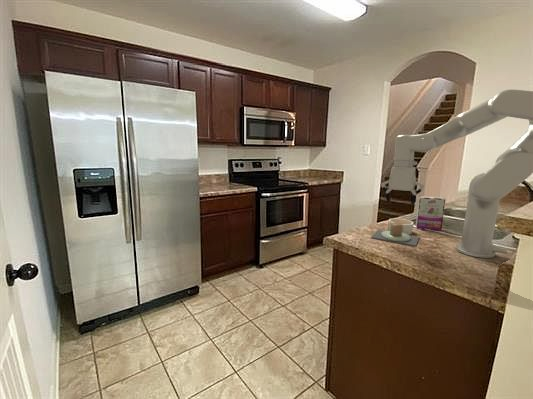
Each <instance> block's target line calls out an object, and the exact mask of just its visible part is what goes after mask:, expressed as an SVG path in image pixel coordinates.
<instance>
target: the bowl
mask: <svg viewBox="0 0 533 399" xmlns="http://www.w3.org/2000/svg"><path fill="white" fill-rule="evenodd" d="M391 223H399V224H402V225H403V230H402V233H406V234H408V235H412V234H413V231H414V224H415V222H414V221H412V220H410V219H405V218H389V219H388V222H387V231H390V227H391Z"/></svg>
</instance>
